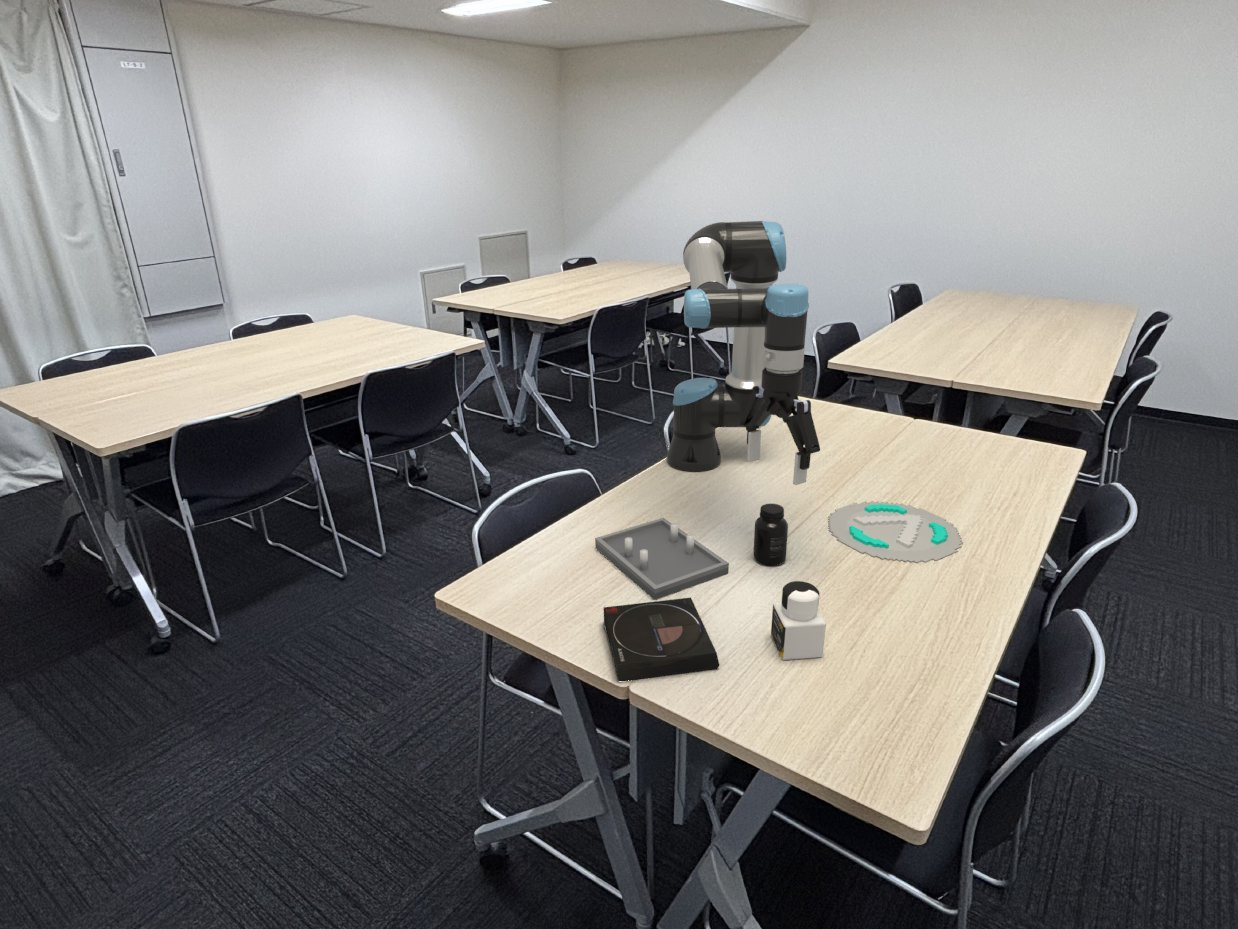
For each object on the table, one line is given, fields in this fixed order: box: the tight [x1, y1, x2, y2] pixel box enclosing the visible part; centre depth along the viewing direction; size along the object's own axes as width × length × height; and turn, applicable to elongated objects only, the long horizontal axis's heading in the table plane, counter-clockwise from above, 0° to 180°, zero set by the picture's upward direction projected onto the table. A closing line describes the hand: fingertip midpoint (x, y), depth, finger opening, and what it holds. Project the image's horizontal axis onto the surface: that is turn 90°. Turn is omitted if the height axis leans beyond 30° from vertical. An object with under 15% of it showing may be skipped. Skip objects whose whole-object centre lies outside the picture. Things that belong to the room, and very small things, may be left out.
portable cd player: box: [603, 596, 720, 682], centre depth 124 cm, size 16×17×4 cm
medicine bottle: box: [770, 580, 827, 661], centre depth 121 cm, size 7×7×12 cm
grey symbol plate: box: [827, 500, 964, 564], centre depth 161 cm, size 28×28×2 cm
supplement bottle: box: [753, 503, 789, 567], centre depth 148 cm, size 7×7×12 cm
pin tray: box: [594, 517, 730, 601], centre depth 150 cm, size 24×18×6 cm
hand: (775, 471), depth 143 cm, fingers open, 13 cm apart
